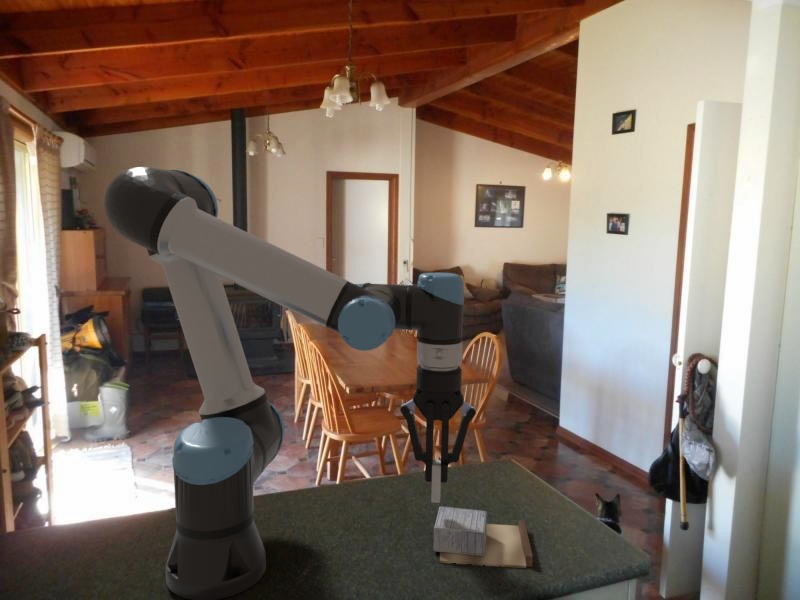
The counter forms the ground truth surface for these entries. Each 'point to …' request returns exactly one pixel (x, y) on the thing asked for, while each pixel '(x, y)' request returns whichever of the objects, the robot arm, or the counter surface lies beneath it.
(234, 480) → the robot arm
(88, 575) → the counter surface
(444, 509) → the medicine box
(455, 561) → the light wooden board
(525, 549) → the stop rail
